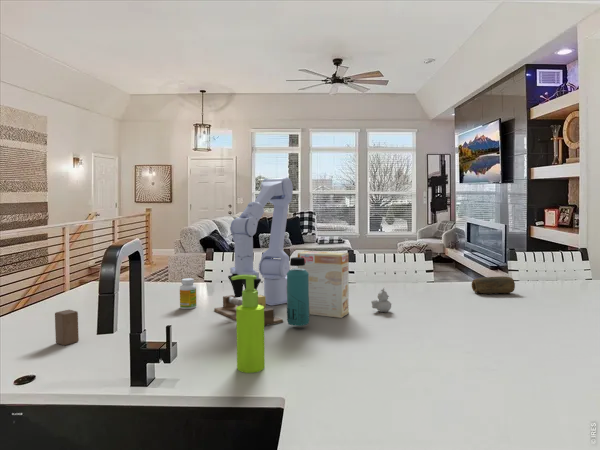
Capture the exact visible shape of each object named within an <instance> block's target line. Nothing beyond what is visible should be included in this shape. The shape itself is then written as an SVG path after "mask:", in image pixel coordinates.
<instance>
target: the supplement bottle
mask: <svg viewBox="0 0 600 450" xmlns="http://www.w3.org/2000/svg"><path fill="white" fill-rule="evenodd" d="M194 283H195V279H194V278H191V277H187V278H182V279H181V284H182V285H180V286H179V309H182V310H193V309H196V308H197V286H196V285H195V284H194Z"/></svg>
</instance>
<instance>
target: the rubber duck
mask: <svg viewBox="0 0 600 450" xmlns="http://www.w3.org/2000/svg"><path fill="white" fill-rule="evenodd" d="M389 297H390V296H389V294H388V293H387V291H386V290H385V287H383V289H380V291H379V292H378V293H377V299H372V300H371V305H372V306H371V308H372V309H376V310H377V311H378V312H381V313H386V312H389V311H390V310H391V308H392V303H391V301H389Z"/></svg>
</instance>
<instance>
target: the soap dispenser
mask: <svg viewBox="0 0 600 450" xmlns="http://www.w3.org/2000/svg"><path fill="white" fill-rule="evenodd" d="M231 279H232V280H236V279H246V289H245V288H244V289H243V291H242V297H241V300H242V305H241V306H238V307H237V308H236V320H235V321H236V369H237V371H239V372H241V373H245V374H253V373H258V372H262V371H263V370H264V369H265V366H266V365H265V363H266V361H265V359H266V358H265V357H266V356H265V353H266V351H265V326H264V306H262V305H258V295H259V290H256V289H254V279H256V275H237V276H233V277H231Z"/></svg>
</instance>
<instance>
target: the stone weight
mask: <svg viewBox="0 0 600 450" xmlns="http://www.w3.org/2000/svg"><path fill="white" fill-rule="evenodd" d="M515 288H516V283H515V279H513V277H509V276H503V275H502V276H501V275H500V276H485V277H478V278H474V279H473V280H472V281H471V289H472V291H473V292H474V293H476V294H482V293H483V294H482V295H485V294H486V295H493V294H492V293H504V294H510V293H513V292H514V291H515Z"/></svg>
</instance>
